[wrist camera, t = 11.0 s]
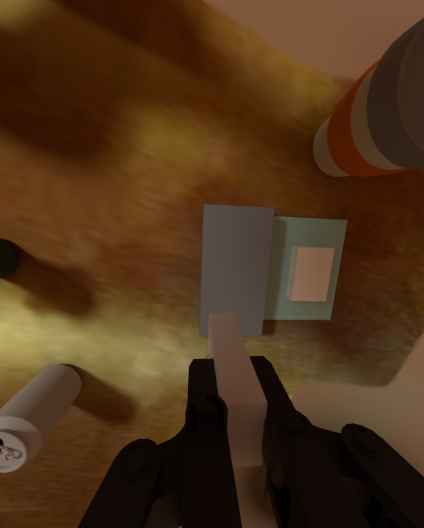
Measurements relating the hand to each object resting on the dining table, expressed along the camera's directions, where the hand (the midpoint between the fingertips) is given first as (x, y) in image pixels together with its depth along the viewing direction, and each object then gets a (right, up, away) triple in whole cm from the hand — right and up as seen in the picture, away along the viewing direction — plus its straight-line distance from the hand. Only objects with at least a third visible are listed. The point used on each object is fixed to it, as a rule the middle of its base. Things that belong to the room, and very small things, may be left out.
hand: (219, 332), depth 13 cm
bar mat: (+15, +3, +22) cm, 27 cm away
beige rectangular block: (+16, +3, +20) cm, 26 cm away
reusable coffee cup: (+19, +23, +18) cm, 35 cm away
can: (-27, -16, +23) cm, 39 cm away
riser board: (+3, +4, +21) cm, 21 cm away
